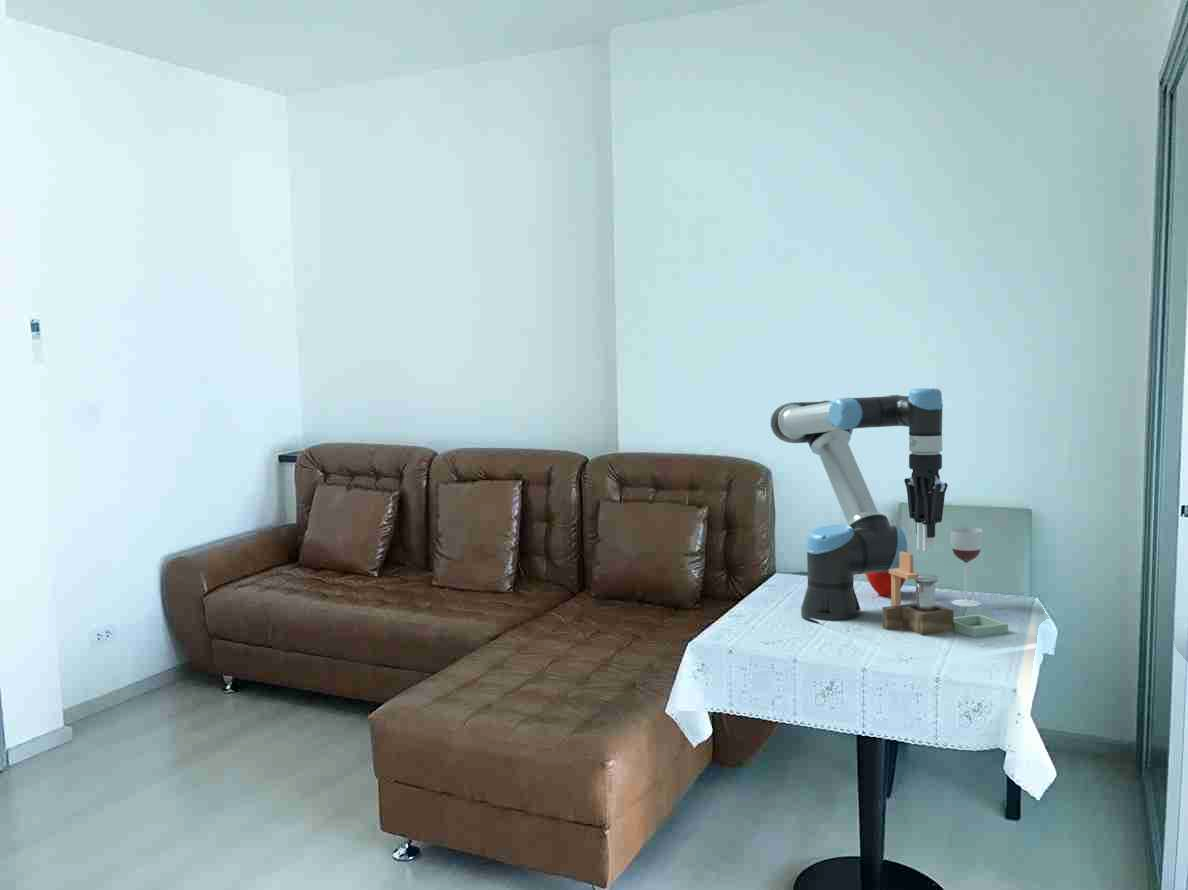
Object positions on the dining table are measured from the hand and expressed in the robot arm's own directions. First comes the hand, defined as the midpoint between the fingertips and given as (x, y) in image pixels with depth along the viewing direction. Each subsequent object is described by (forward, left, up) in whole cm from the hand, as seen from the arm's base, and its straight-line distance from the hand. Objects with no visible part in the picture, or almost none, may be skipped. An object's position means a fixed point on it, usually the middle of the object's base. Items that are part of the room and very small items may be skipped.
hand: (925, 549), depth 236 cm
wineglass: (-18, +28, -21) cm, 39 cm away
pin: (0, 0, -20) cm, 20 cm away
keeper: (-1, -6, -14) cm, 15 cm away
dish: (+6, +10, -21) cm, 24 cm away
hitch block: (0, -2, -21) cm, 21 cm away
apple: (-35, +15, -21) cm, 43 cm away
